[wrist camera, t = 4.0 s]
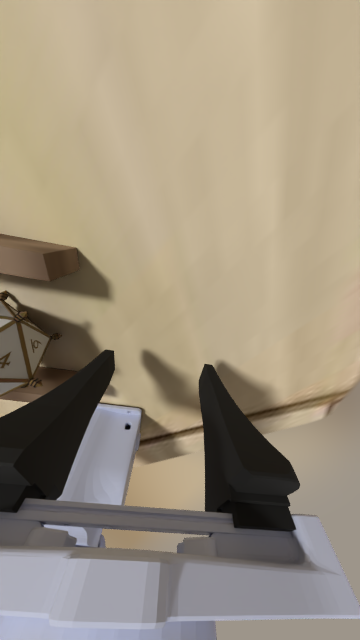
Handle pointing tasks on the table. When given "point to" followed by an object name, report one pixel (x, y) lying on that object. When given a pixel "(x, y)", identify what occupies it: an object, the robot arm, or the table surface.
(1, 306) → the game die
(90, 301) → the table surface
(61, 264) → the walnut chute
